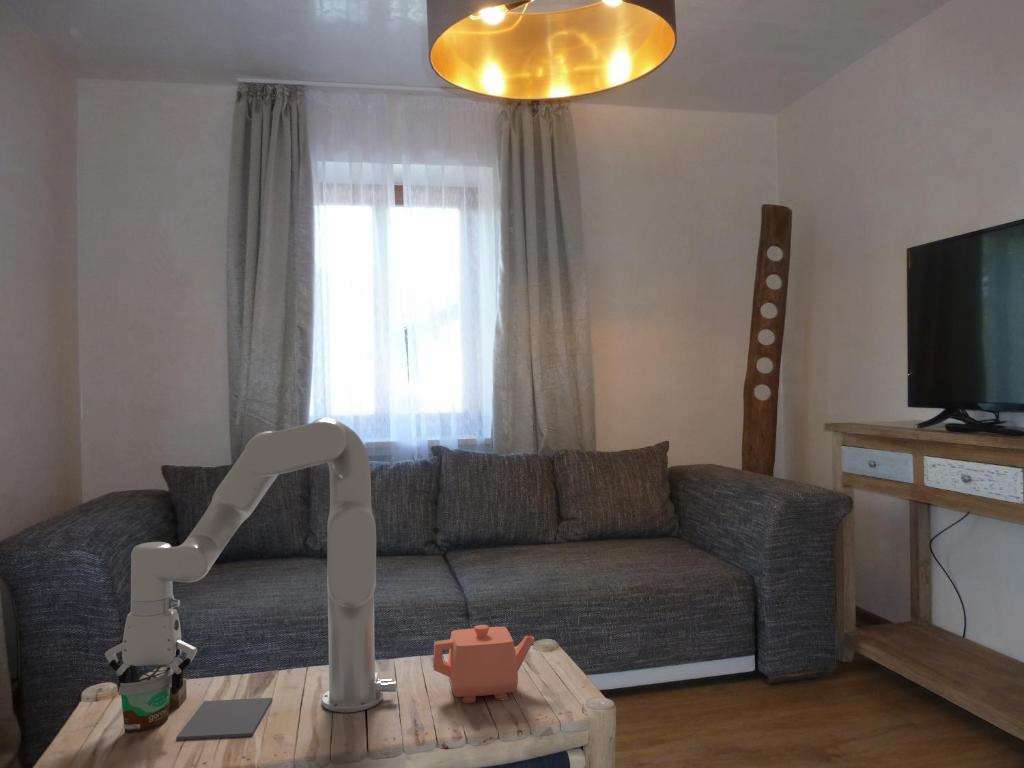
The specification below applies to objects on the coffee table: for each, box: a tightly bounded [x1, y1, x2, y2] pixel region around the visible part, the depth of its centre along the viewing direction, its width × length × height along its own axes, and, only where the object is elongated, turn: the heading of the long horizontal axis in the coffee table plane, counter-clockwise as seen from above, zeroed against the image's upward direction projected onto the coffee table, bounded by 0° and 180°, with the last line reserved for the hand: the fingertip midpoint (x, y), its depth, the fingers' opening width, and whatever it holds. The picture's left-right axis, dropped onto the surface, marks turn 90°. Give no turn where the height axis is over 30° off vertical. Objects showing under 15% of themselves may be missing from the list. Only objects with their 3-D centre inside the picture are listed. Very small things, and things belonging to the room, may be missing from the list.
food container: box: [118, 665, 174, 734], centre depth 148 cm, size 12×6×10 cm, turn 168°
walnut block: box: [169, 677, 188, 709], centre depth 157 cm, size 4×4×4 cm
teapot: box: [432, 624, 535, 704], centre depth 161 cm, size 22×13×14 cm, turn 101°
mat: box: [176, 697, 273, 741], centre depth 149 cm, size 14×16×1 cm
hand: (151, 692), depth 148 cm, fingers open, 9 cm apart
